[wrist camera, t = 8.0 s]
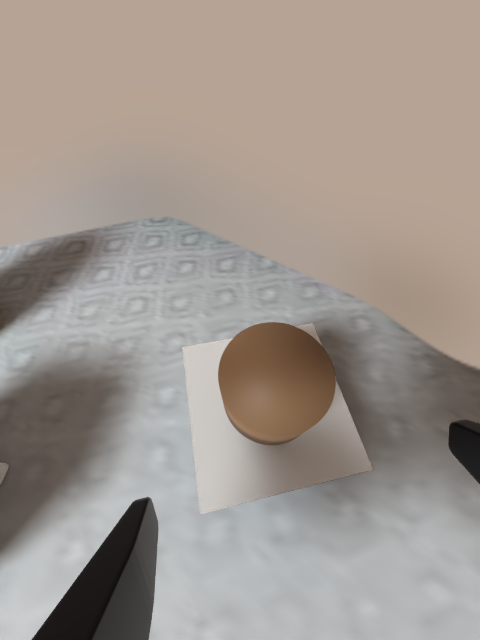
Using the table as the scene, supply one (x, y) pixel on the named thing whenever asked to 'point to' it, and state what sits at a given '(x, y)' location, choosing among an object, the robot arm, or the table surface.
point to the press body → (257, 459)
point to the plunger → (275, 382)
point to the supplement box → (3, 471)
